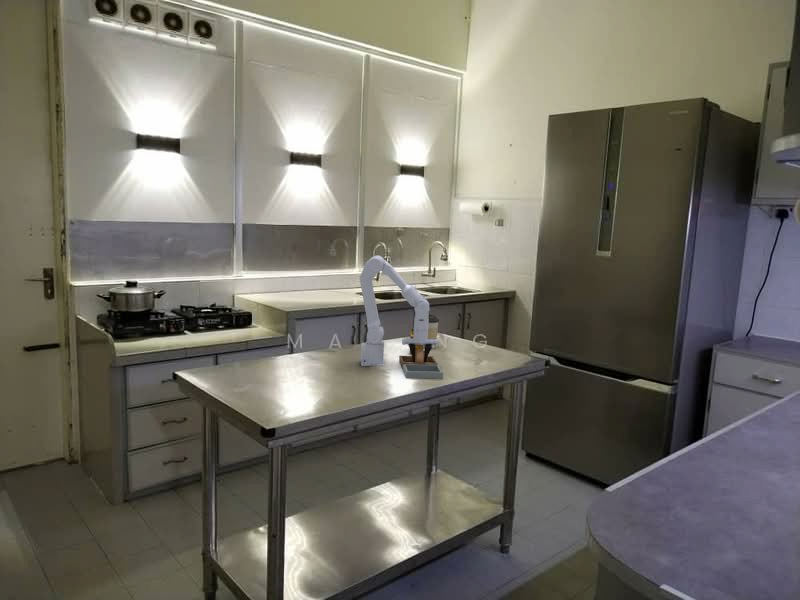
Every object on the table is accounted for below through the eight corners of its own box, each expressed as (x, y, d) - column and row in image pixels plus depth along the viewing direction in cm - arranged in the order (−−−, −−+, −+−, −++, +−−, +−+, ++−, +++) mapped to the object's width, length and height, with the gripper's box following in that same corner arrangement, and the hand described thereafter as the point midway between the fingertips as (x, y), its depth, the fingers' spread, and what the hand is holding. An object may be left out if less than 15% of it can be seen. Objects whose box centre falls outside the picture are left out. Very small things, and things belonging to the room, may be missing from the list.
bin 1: (402, 370, 228) (402, 363, 228) (399, 362, 240) (399, 355, 239) (437, 371, 230) (437, 363, 229) (432, 363, 241) (432, 356, 241)
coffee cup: (437, 349, 266) (439, 317, 264) (418, 349, 266) (420, 317, 263) (436, 345, 275) (438, 314, 273) (417, 344, 275) (419, 313, 272)
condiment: (406, 355, 252) (407, 329, 250) (412, 351, 260) (413, 325, 258) (422, 358, 250) (423, 331, 248) (427, 354, 257) (429, 327, 256)
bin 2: (405, 379, 216) (406, 371, 215) (402, 371, 227) (403, 364, 226) (442, 380, 217) (443, 372, 217) (437, 372, 228) (438, 364, 228)
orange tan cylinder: (414, 366, 233) (415, 352, 232) (413, 364, 236) (414, 349, 236) (424, 366, 233) (425, 352, 232) (423, 364, 237) (423, 349, 236)
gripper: (404, 330, 228) (402, 364, 230) (440, 331, 229) (438, 364, 231) (402, 327, 235) (400, 359, 237) (437, 328, 236) (435, 360, 238)
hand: (419, 362), depth 235 cm, fingers closed on orange tan cylinder, 4 cm apart
